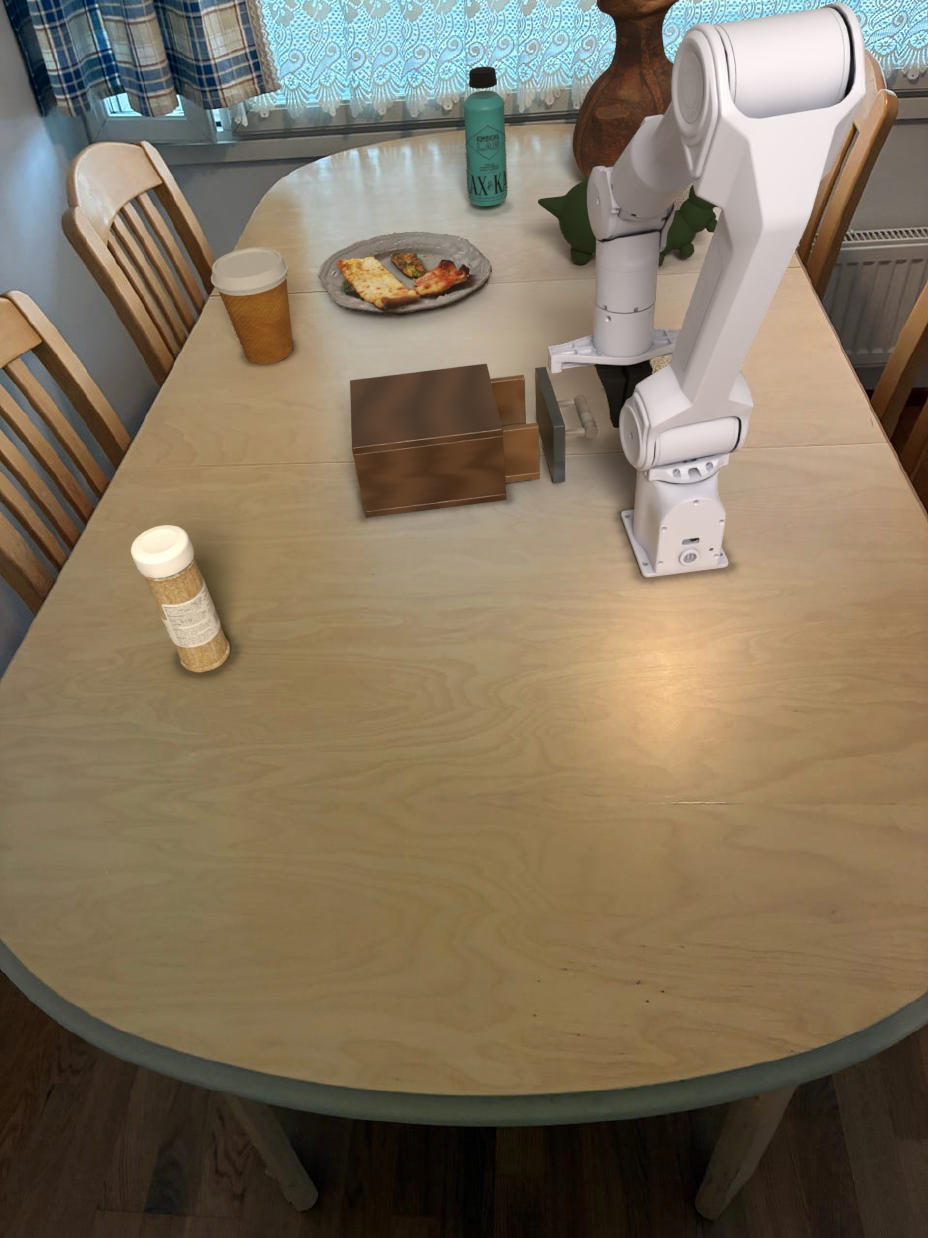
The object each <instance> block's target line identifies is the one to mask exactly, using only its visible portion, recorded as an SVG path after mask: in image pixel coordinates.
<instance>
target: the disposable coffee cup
mask: <svg viewBox="0 0 928 1238" xmlns="http://www.w3.org/2000/svg"><path fill="white" fill-rule="evenodd" d="M288 272H289V265H288V262H286V261H285V260H284V257H283V256H282V254H281V253H280V252H279V251H278V250H275V249H273V248H268V247H259V246H258V247H257V246H256V247H246V248H241V249H238V250H237V249H236V250H235V251H231V252H228V253H226V254H223V255H222V256H220V257H219V258H217V259H216V260H215V261H214V263H213V264H212V266H211V276H210V282H211V284H212V285H213V286H214V287H215V289H216V290H217V291H218V293H219V296H220V298H221V301H222V304H223V305H224V307H225V310H226V313H227V315H228V318H229V320H230V322H231V324H232V326H233V327H232V328H233V330H234V332H235V334H236V336H237V338H238V341H239V343H240V345H241V348H242V351H243V353H244V355H245V358H246V359H247V360H248V361H249V362H251V363H253V364H259V365H266V364H268V365H269V364H274V363H277V362H280V361H282V360H284V359H286V358H288V357H289V356H290V355H291V354H292V353H293V352H294V342H293V331H292V320H291V310H290V301H289V291H288V281H287V276H288Z"/></svg>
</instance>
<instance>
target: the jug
mask: <svg viewBox="0 0 928 1238" xmlns="http://www.w3.org/2000/svg"><path fill="white" fill-rule="evenodd" d="M679 1H680V0H596V2H595V4H596V7H597V9H598V10H599V11H600V12H601V13H603V14H605V15H608V16H609V17H611V19H612V20H613V24H614V29H615V45H614V53H613V56H612V60H611V62H610V64H609V66H608V67H607V68H606V69H605V70H604V71H602V73H601V74H600V75H599V76H598V77H597V78H596V79H595V81H594V82H593V83H592V84H591V86H590V88H589V89H588V91H587V93H586V94H585V97H584V99H583V101H582V103H581V106H580V108H579V111H578V113H577V116H576V120H575V124H574V125H575V126H574V128H573V133H572V152H573V157H574V160H575V163H576V166H577V168H578V170H579V172H580V174H581V175H582V176H583V177H585V178H586V179H587V180H589V177H590V175H591V172H592V169H593V168H594V167H597V166H604V167H606V168H607V167H613V166H614V165H615V163H616V162H617V160H618V159H619V157H620V156H621V154H622V153H623V151H624V150H625V148H626V147H627V146H628V144H629V143H630V141H631V140H632V138H633V137H634V135H635V134H636V133H637V131H638V130H639V128H640V127H641V123H642V122H643V120H644V119H645V117H649V116H655V115H664V114H665V112H666V110H667V109H668V107H669V105H670V103H671V101H672V95H671V81H672V70H673V64H674V62H673V61H671V60H670V59H669V58H668V56H667V54H666V51H665V43H664V35H663V27H664V22H665V19H666V16H667V15H668V12H669V11H670V9H671V8H672V7H673V6H674V5H675V4H676V3H678V2H679Z"/></svg>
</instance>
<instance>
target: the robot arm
mask: <svg viewBox="0 0 928 1238" xmlns="http://www.w3.org/2000/svg"><path fill="white" fill-rule="evenodd" d="M865 45H866V44H865V37H864V33H863V29H862V26H861V24H860V22H859V19H858V17H857V15H856V13H855V12H854V10H853V9H852V8H851V7H850V6H849V5H847V4H845V3H843V2H837V1H836V2H832V3H828V4H826V5H823V6H821V7H820V8H815V9H814V8H813V9H808V10H807V9H806V10H801V11H794V12H787V13H781V14H775V15H768V16H761V17H760V16H759V17H754V18H748V19H740V20H736V21H729V22H721V23H715V24H710V23H708V22H706V21H704V22H699V23H695V24H693V25H692V26H690V27H689V29H688V30H687V31H686V33H685V34H684V36H683V37H682V41H680V43H679V45H678V47H677V49H676V52H675V56H674V59H673V70H672V81H671V95H672V101H671V103H670V105H669V107H668V109H667V110H666V112H665V114H664V115H655V116H649V117H645V119H644V120H643V122H642V123H641V127H640V128H639V130H638V131H637V133H636V134H635V135H634V137H633V138H632V140H631V141H630V143H629V144H628V146H627V147H626V148H625V150H624V151H623V153H622V154H621V156H620V157H619V159H618V160H617V162H616V163H615V165H614V166H613V167H607V168H606V167H604V166H597V167H594V168H593V169H592V172H591V175H590V177H589V179H588V180H589V181H588V187H587V208H588V216H589V221H590V225H591V228H592V231H593V233H594V235H595V237H596V253H595V271H594V274H595V276H594V305H593V333H592V334H589V335H586V336H583V337H580V338H577V339H574V340H570V341H567V342H564V343H561V344H555V345H549V346H547V366H548V368H549V371H550V373H551V374H560V373H562V371H563V370H564V369H571V368H580V367H587V366H594V370H595V372H596V374H597V376H598V380H599V381H600V383H601V385H602V388H603V389H604V393H605V397H606V400H607V405H608V411H609V420H610V423H611V425H612V427H613V429H618V430H619V437H620V442H621V447H622V450H623V453H624V456H625V458H626V460H627V462H628V463H629V464H630V465H631V466H632V467H633V468H634V469H635V470H636V481H635V482H636V483H635V496H634V509H626V510H625V509H624V510H622V511H621V513H620V518H621V520H622V523H623V525H624V529H625V531H626V534H627V537H628V539H629V540H628V541H629V542H630V545H631V548H632V550H633V553H634V556H635V558H636V561H637V564H638V567H639V570H640V572H641V575H642V576H643V577H644V578H655V577H663V576H669V575H677V574H685V573H693V572H700V571H701V572H702V571H708V570H716V569H724V568H727V567H728V566H729V562H730V561H729V559H728V557H727V555H726V552H725V550H724V549H723V540H724V533H725V528H726V523H727V522H726V521H727V513H726V509H725V507H724V504H723V502H722V499H721V497H720V492H719V477H720V471H721V468H723V467H726V466H728V465H729V462H730V456H731V454H733V453H738V452H739V451H740V450H741V449H742V448H743V447H744V445H745V442H746V441H747V438H748V435H749V431H750V419H751V414H752V412H753V411H754V408H755V401H754V396H753V394H752V391H751V388H750V385H749V383H748V380H747V378H746V376H745V375H744V373H743V371H742V368H743V366H744V364H745V361H746V360H747V357H748V355H749V353H750V350H751V349H752V346H753V344H754V342H755V340H756V337H757V335H758V334H759V331H760V329H761V326H762V324H763V322H764V320H765V318H766V316H767V314H768V311H769V309H770V307H771V305H772V302H773V300H774V299H775V297H776V295H777V292H778V290H779V287H780V285H781V283H782V281H783V278H784V276H785V275H786V272H787V270H788V267H789V266H790V263H791V261H792V259H793V256H794V254H795V252H796V251H797V250H796V249H797V248H798V246H799V244H800V241H801V239H802V237H803V235H804V233H805V231H806V228H807V226H808V223H809V220H810V218H811V215H812V213H813V208H814V205H815V202H816V199H817V195H818V191H819V188H820V184H821V181H822V180H824V178H826V177H827V175H829V174H830V172H831V171H832V168H833V167H834V164H835V162H836V160H837V157H838V155H839V153H840V151H841V149H842V147H843V144H844V142H845V140H846V137H847V135H848V134H849V131H850V128H851V127H852V125H853V122H854V120H855V118H856V116H857V114H858V112H859V109H860V107H861V105H862V102H863V100H864V98H865V96H866V94H867V86H866V83H867V74H866V48H865V47H866V46H865ZM691 184H692V185H693V187H694V191H695V194H696V196H698V197H700V198H701V199H703V200H705V201H707V202H709V203H711V204H713V205H715V206H717V207H716V208H719V209H720V212H719V216H718V219H717V221H718V222H717V225H716V228H715V231H714V233H713V234H712V237H711V239H710V243H709V246H708V247H707V251H706V255H705V257H704V260H703V263H702V266H701V269H700V272H699V275H698V278H697V281H696V283H695V287H694V289H693V292H692V295H691V297H690V301H689V303H688V307H687V309H686V312H685V316H684V319H683V321H682V324H681V327H680V329H669V328H666V329H665V328H654V327H655V312H656V302H657V290H658V289H657V288H658V277H659V276H658V274H659V266H658V264H659V252H662V251H663V250H664V249H665V247H666V240H667V233H668V230H669V228H670V226H671V224H672V222H673V218H674V214H675V211H676V203H675V202H676V200H677V199H678V198H679V197H680V196H681V195H682V193H683V192H684V191H685V190H686V189H687V188H688V187H689V186H691ZM670 356H671V357H670ZM661 357H670V360H669V362H668V363H667V364H666V365H664V366H663V367H662V368H660V369H659V370H657V371H655V372H654V373H653V370H654V369H653V366H652V363H651V360H652V359H655V358H661Z"/></svg>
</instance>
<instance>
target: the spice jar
mask: <svg viewBox="0 0 928 1238" xmlns="http://www.w3.org/2000/svg"><path fill="white" fill-rule="evenodd" d="M130 554H131V557H132V560H133V562H134V565H135V566H136V569H137V570H138V572H139V573H140V574H142V577H143V578H144V581H145V583H146V585H147V587H148V590H149V592H150V594H151V597H152V598H153V601H154V603H155V605H156V608H157V611H158V612H159V616H160V618H161V621H162V623H163V625H164V628H165V630H166V632H167V634H168V636H169V638H170V640H171V642H172V643H173V645H174V648H175V650H176V652H177V654H178V657H179V662H180V664H181V665H182V667H184V669H186V670H187V671H190V672H193V673H204V672H209V671H213V670H216V669H217V668H219V667H220V666H222V665H223V664H224V663H225V662H226V661H227V659H228V657H229V656H230V654H231V644H230V642H229V641H228V639H227V637H226V635H225V633H224V630H223V628H222V625H221V620H220V617H219V614H218V612H217V609H216V606H215V604H214V601H213V599H212V597H211V594H210V592H209V589H208V586H207V583H206V580H205V578H204V577H203V575H202V573H201V570H200V568H199V565H198V563H197V559H196V558H195V549H194V546H193V543H192V541H191V539H190V536H189V534H188V533H187V531H186V530H185V529H184V528H181V526H180V527H179V526H178V525H172V524H162V525H157V526H154V527H151V528H149V529H146V530H144V531H143V532H142V533H140V534H139V535H138V536H137V537H136V538H135V539H134V541H133V542H132V543H131V547H130Z"/></svg>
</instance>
